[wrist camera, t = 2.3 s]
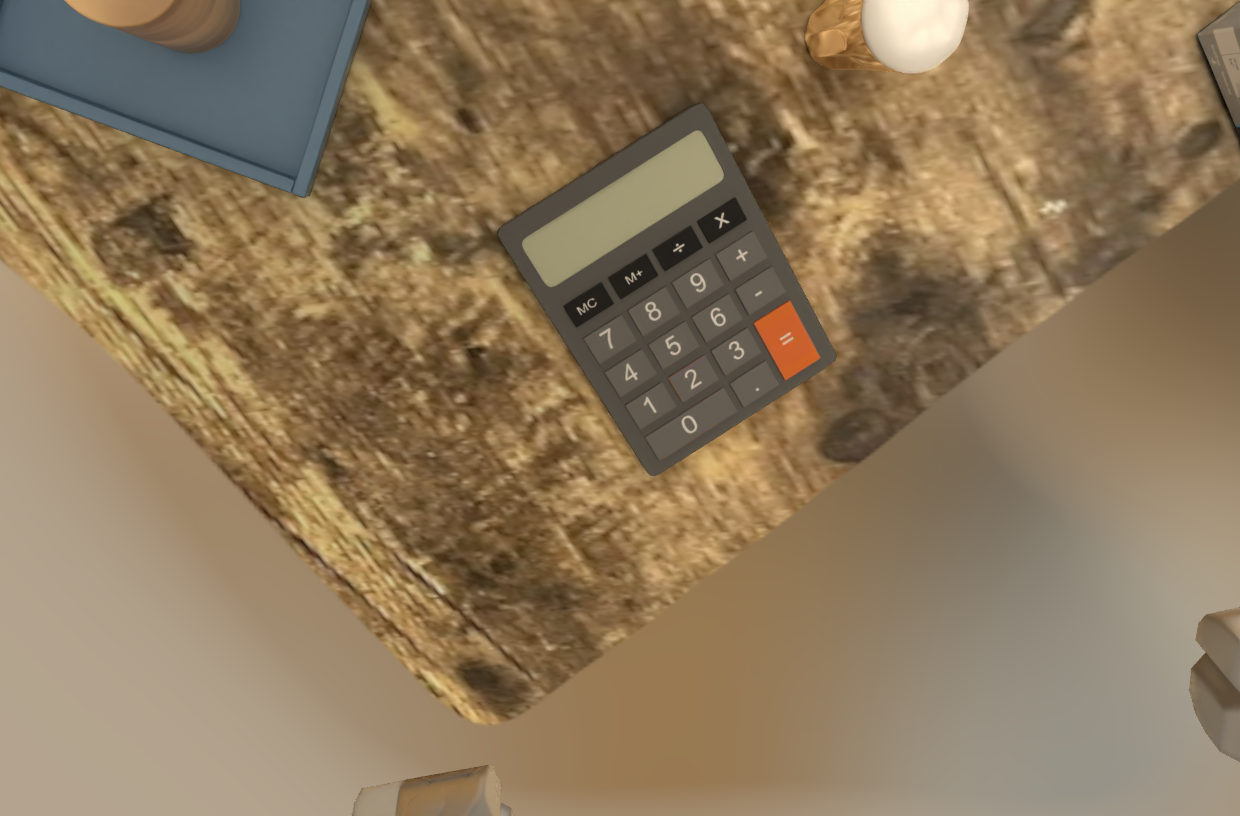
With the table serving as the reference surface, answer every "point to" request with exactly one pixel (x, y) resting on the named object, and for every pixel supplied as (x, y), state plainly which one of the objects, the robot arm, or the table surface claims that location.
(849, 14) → the milkshake
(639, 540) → the table surface
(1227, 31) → the label tape box
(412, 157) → the table surface
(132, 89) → the tray
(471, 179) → the table surface
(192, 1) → the wooden peg
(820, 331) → the calculator
